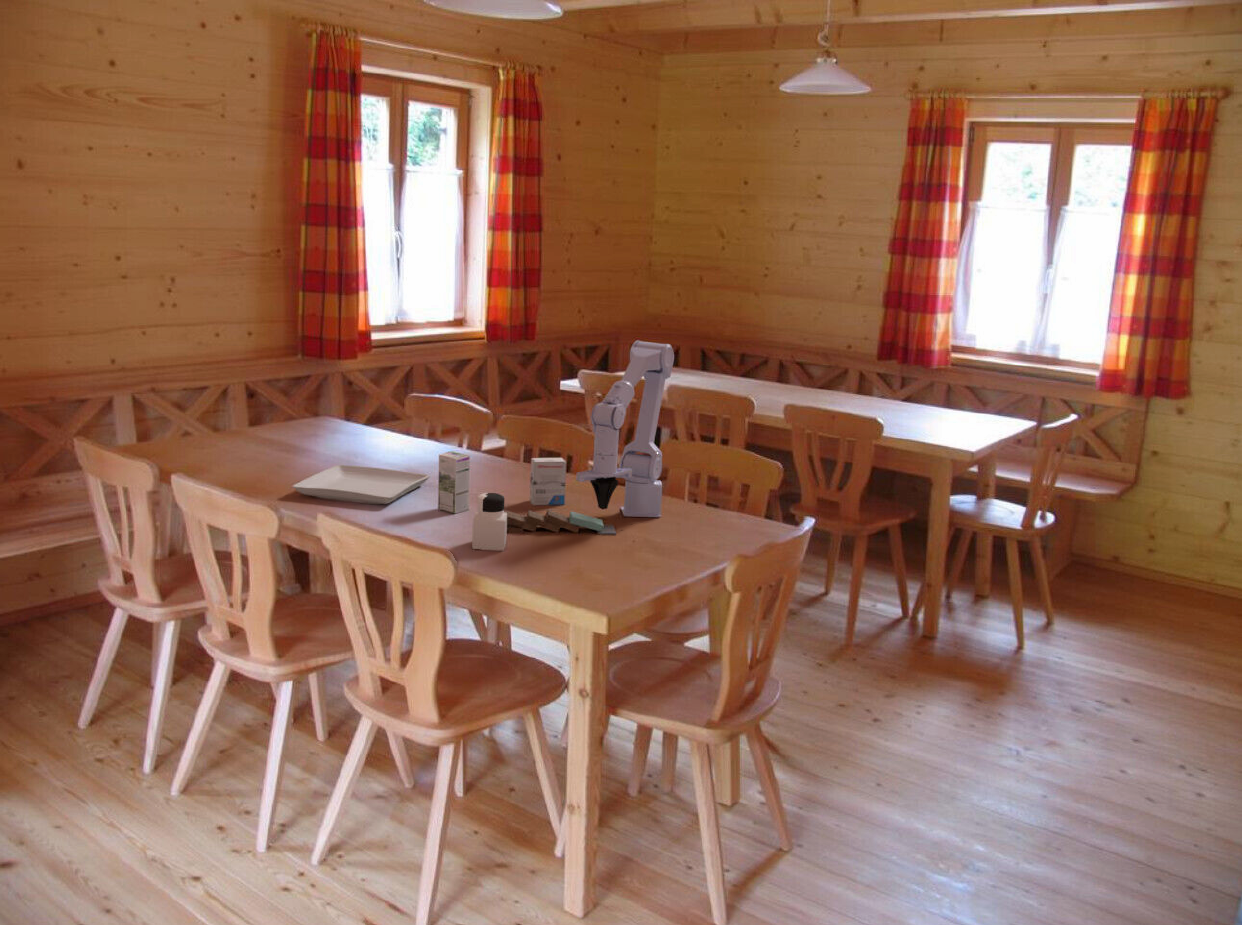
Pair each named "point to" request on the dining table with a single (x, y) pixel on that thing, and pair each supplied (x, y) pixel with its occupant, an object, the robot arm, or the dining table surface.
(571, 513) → the teal tile
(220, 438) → the dining table surface
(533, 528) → the domino
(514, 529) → the domino
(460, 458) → the syrup box
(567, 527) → the domino
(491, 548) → the medicine bottle
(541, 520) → the domino
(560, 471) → the ink box
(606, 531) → the slot pad
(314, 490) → the square plate
